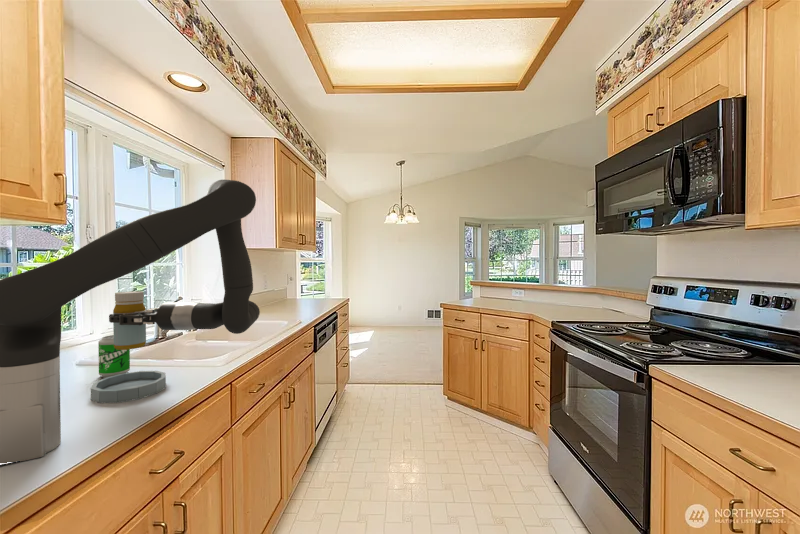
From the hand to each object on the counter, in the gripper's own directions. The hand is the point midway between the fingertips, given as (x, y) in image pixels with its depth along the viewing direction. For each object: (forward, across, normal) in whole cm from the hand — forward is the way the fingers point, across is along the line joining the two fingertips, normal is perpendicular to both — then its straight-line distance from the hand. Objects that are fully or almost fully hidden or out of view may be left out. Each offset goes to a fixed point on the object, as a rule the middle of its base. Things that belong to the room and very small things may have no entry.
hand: (121, 315), depth 96 cm
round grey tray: (-2, 0, +21) cm, 21 cm away
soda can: (+13, -13, +21) cm, 28 cm away
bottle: (-2, 0, +9) cm, 9 cm away
